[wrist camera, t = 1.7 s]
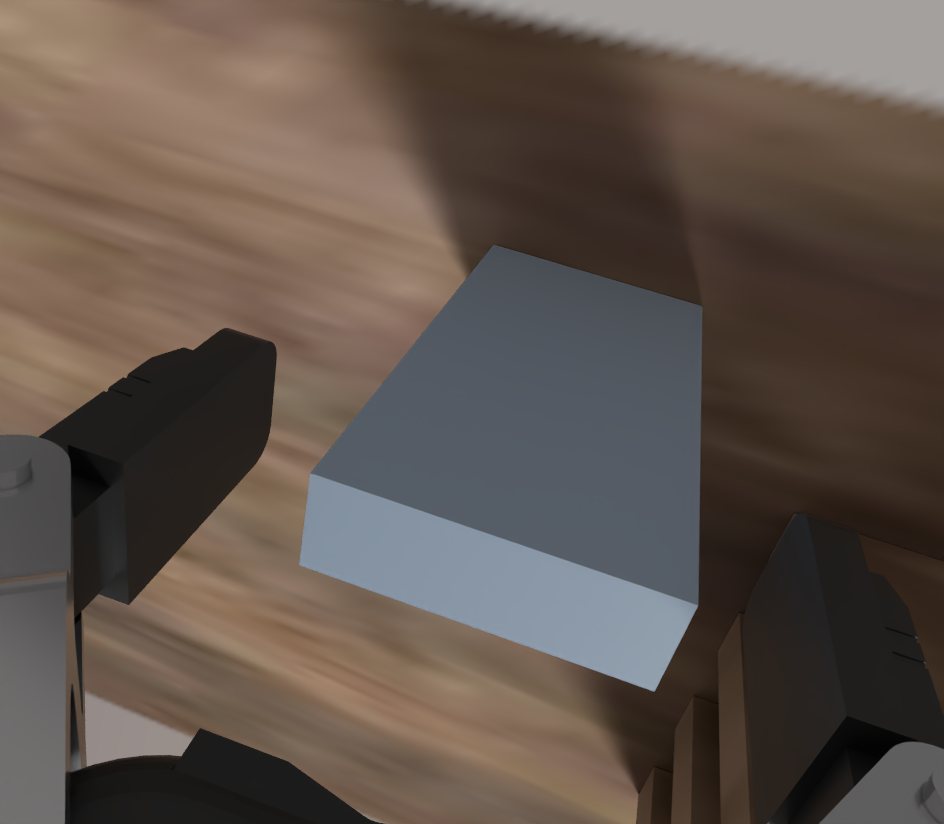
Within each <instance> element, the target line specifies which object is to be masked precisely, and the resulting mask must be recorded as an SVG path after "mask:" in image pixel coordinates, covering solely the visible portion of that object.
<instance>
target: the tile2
mask: <svg viewBox="0 0 944 824" xmlns="http://www.w3.org/2000/svg"><path fill="white" fill-rule="evenodd" d="M796 515H798V514H795V513H794V514H793V516H792V518H791V520H790V521H789V523H788V525H787V527H788V526H789V524H790V522H791V521H792V520H793V518H794V517H795V516H796ZM787 527H786V529H787ZM786 529H785V531H786ZM785 531H784V532H783V534H782V536H783V535H784V533H785ZM858 535H859V538H860V542H861V545H862V549H863V552H864V556H865V559H866V563H867V566H868V570H869V571H870V572H873V573H876V574H879V575H882V576H884V577H885V578H886V579H887V581H888V582H889V583H890V584H891V586H892V587H893V588H894V590H895V591H896V592H897V594H898V595H899V596H900V597H901V599H902V600H903V601H904V603H905V604H906V605H907V607H908V609H909V612H910V615H911V618H912V621H913V624H914V627H915V630H916V633H917V636H918V638H917V643H920V645H921V648H922V651H923V654H924V657H925V660H926V664H925V668H926V669H929V672H930V675H931V678H932V681H933V685H934V688H935V691H936V694H937V697H938V700H939V703H940V706H941V709H942V712H943V715H944V561H941V560H938V559H935V558H932V557H928V556H925V555H922V554H919V553H916V552H913V551H910V550H907V549H904V548H901V547H898V546H894V545H891V544H888V543H885V542H882V541H879V540H876V539H873V538H870V537H867V536H863V535H860V534H858ZM782 536H781V538H782ZM781 538H780V540H781ZM780 540H779V541H778V543H779V542H780ZM778 543H777V545H778ZM777 545H776V547H777ZM776 547H775V549H776ZM775 549H774V550H773V552H774V551H775ZM773 552H772V554H773ZM772 554H771V556H772ZM771 556H770V558H771ZM770 558H769V559H770Z"/></svg>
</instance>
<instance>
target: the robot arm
mask: <svg viewBox="0 0 944 824" xmlns="http://www.w3.org/2000/svg"><path fill="white" fill-rule="evenodd" d="M276 358H277V353H276V347H275V345H274V344H273V343H272V342H270V341H267V340H264V339H261V338H258V337H254V336H251V335H248V334H245V333H242V332H239V331H236V330H233V329H229V328H224V329H222V330H220V331H219V332H217V333H216V334H215V335H213V336H212V337H211V338H209V339H208V340H207V341H205V342H204V343H203V344H201V345H200V346H199V347H197V348H196V349H195V350H190V349H187V348H180V349H177V350H174V351H171V352H168V353H165V354H161V355H158V356H155V357H152V358H150V359H149V360H147V361H146V362H144V363H143V364H142V365H140V366H139V367H137V368H136V369H134V370H133V371H132V372H130V373H129V374H128V376H127V378H124V377H123V378H122V379H120V380H119V381H117V382H116V383H115V384H113V385H112V386H110V387H109V389H108V391H107V392H105V391H103V392H102V393H100V394H99V395H98V396H96V397H95V398H93V399H92V400H90V401H89V402H88V403H86V404H85V405H83V406H82V407H80V408H79V409H78V410H76V411H75V412H73V413H72V414H71V415H69V416H68V417H66V418H65V419H63V420H62V421H61V422H59V423H58V424H56V425H55V426H54V427H52V428H51V429H49V430H48V431H46V432H45V433H44V434H42V435H41V436H39V437H35V436H29V435H0V824H383V823H378V822H375V821H372V820H370V819H368V818H366V817H365V816H363V815H362V814H360V813H359V812H357V811H356V810H355V809H353V808H352V807H350V806H349V805H348V804H346V803H345V802H344V801H342V800H341V799H339V798H338V797H337V796H335V795H334V794H332V793H331V792H330V791H328V790H327V789H326V788H324V787H323V786H321V785H320V784H319V783H317V782H316V781H314V780H313V779H312V778H310V777H309V776H307V775H306V774H305V773H303V772H302V771H301V770H299V769H298V768H296V767H295V766H294V765H292V764H291V763H289V762H288V761H285V760H283V759H280V758H277V757H275V756H272V755H269V754H267V753H264V752H261V751H259V750H256V749H254V748H251V747H248V746H246V745H243V744H240V743H238V742H235V741H232V740H230V739H227V738H225V737H222V736H219V735H217V734H214V733H211V732H209V731H206V730H203V729H201V728H200V729H199V731H198V732H197V734H196V735H195V737H194V738H193V740H192V741H191V743H190V744H189V746H188V747H187V749H186V750H185V752H184V753H183V755H182V756H171V755H157V756H156V755H154V756H153V755H152V756H137V757H129V758H121V759H116V760H112V761H108V762H103V763H99V764H95V765H92V766H88V767H87V764H86V741H85V682H84V621H83V609H84V608H85V607H86V606H87V605H88V604H89V603H90V602H91V601H92V600H93V599H94V598H95V597H96V596H97V595H98V594H100V595H103V596H106V597H108V598H111V599H114V600H116V601H119V602H122V603H125V604H127V605H129V604H130V603H131V602H132V601H133V600H134V599H135V598H136V596H137V595H138V594H139V593H140V592H141V591H142V590H143V589H144V588H145V586H146V585H147V584H148V583H149V582H150V581H151V580H152V579H153V578H154V576H155V575H156V574H157V573H158V572H159V571H160V570H161V569H162V568H163V566H164V565H165V564H166V563H167V562H168V561H169V560H170V559H171V558H172V556H173V555H174V554H175V553H176V552H177V551H178V550H179V549H180V548H181V546H182V545H183V544H184V543H185V542H186V541H187V540H188V539H189V538H190V536H191V535H192V534H193V533H194V532H195V531H196V530H197V529H198V528H199V526H200V525H201V524H202V523H203V522H204V521H205V520H206V519H207V518H208V516H209V515H210V514H211V513H212V512H213V511H214V510H215V509H216V508H217V506H218V505H219V504H220V503H221V502H222V501H223V500H224V499H225V498H226V496H227V495H228V494H229V493H230V492H231V491H232V490H233V489H234V488H235V486H236V485H237V484H238V483H239V482H240V481H241V480H242V479H243V478H244V476H245V475H246V474H247V473H248V472H249V471H250V470H251V469H252V468H253V466H254V465H255V464H256V463H257V461H258V460H259V458H260V456H261V455H262V453H263V451H264V448H265V446H266V443H267V440H268V437H269V433H270V427H271V417H272V405H273V394H274V382H275V371H276ZM917 638H918V636H917V633H916V630H915V627H914V624H913V621H912V618H911V615H910V612H909V609H908V607H907V605H906V604H905V603H904V601H903V600H902V599H901V597H900V596H899V595H898V594H897V592H896V591H895V590H894V588H893V587H892V586H891V584H890V583H889V582H888V581H887V579H886V578H885V577H884V576H882V575H879V574H876V573H873V572H870V571H869V570H868V566H867V563H866V559H865V556H864V552H863V549H862V545H861V542H860V538H859V535H858V533H857V532H856V531H855V530H854V529H851V528H848V527H845V526H842V525H839V524H835V523H832V522H829V521H826V520H823V519H820V518H817V517H813V516H810V515H807V514H804V513H800V514H798V515H796V516H795V517H794V518H793V520H792V521H791V522H790V524H789V526H788V527H787V529H786V531H785V533H784V535H783V536H782V538H781V540H780V542H779V543H778V545H777V547H776V549H775V551H774V552H773V554H772V556H771V558H770V559H769V561H768V563H767V565H766V567H765V568H764V570H763V572H762V574H761V576H760V577H759V579H758V581H757V583H756V584H755V586H754V588H753V590H752V592H751V595H750V597H749V600H748V603H747V606H746V610H745V615H744V621H743V641H744V656H745V671H746V685H747V700H748V715H749V730H750V745H751V759H752V774H753V789H754V804H755V819H756V824H944V715H943V712H942V709H941V706H940V703H939V700H938V697H937V694H936V691H935V688H934V685H933V681H932V678H931V675H930V672H929V669H926V668H925V664H926V660H925V657H924V654H923V651H922V648H921V645H920V643H917Z"/></svg>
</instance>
